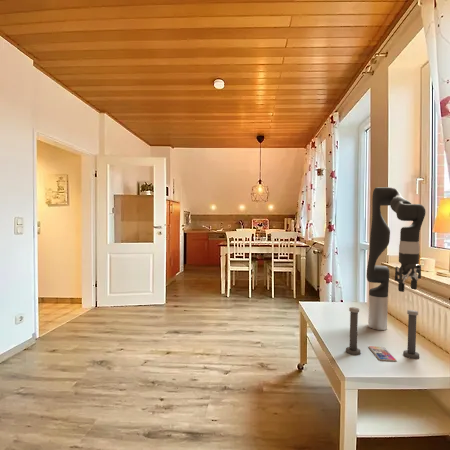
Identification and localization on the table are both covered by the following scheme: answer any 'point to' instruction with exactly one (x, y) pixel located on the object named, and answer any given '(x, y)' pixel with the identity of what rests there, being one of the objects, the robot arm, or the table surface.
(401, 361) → the table surface
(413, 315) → the post
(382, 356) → the smartphone
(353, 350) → the knob
